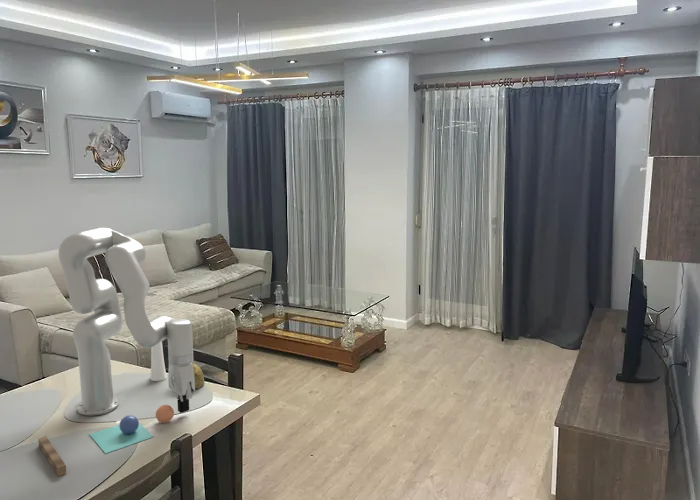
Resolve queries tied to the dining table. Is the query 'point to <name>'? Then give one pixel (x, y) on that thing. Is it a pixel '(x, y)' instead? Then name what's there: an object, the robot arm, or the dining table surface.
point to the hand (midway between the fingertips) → (183, 410)
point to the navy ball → (129, 424)
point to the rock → (198, 376)
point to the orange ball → (164, 413)
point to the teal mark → (119, 438)
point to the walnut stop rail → (52, 456)
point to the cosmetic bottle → (157, 363)
